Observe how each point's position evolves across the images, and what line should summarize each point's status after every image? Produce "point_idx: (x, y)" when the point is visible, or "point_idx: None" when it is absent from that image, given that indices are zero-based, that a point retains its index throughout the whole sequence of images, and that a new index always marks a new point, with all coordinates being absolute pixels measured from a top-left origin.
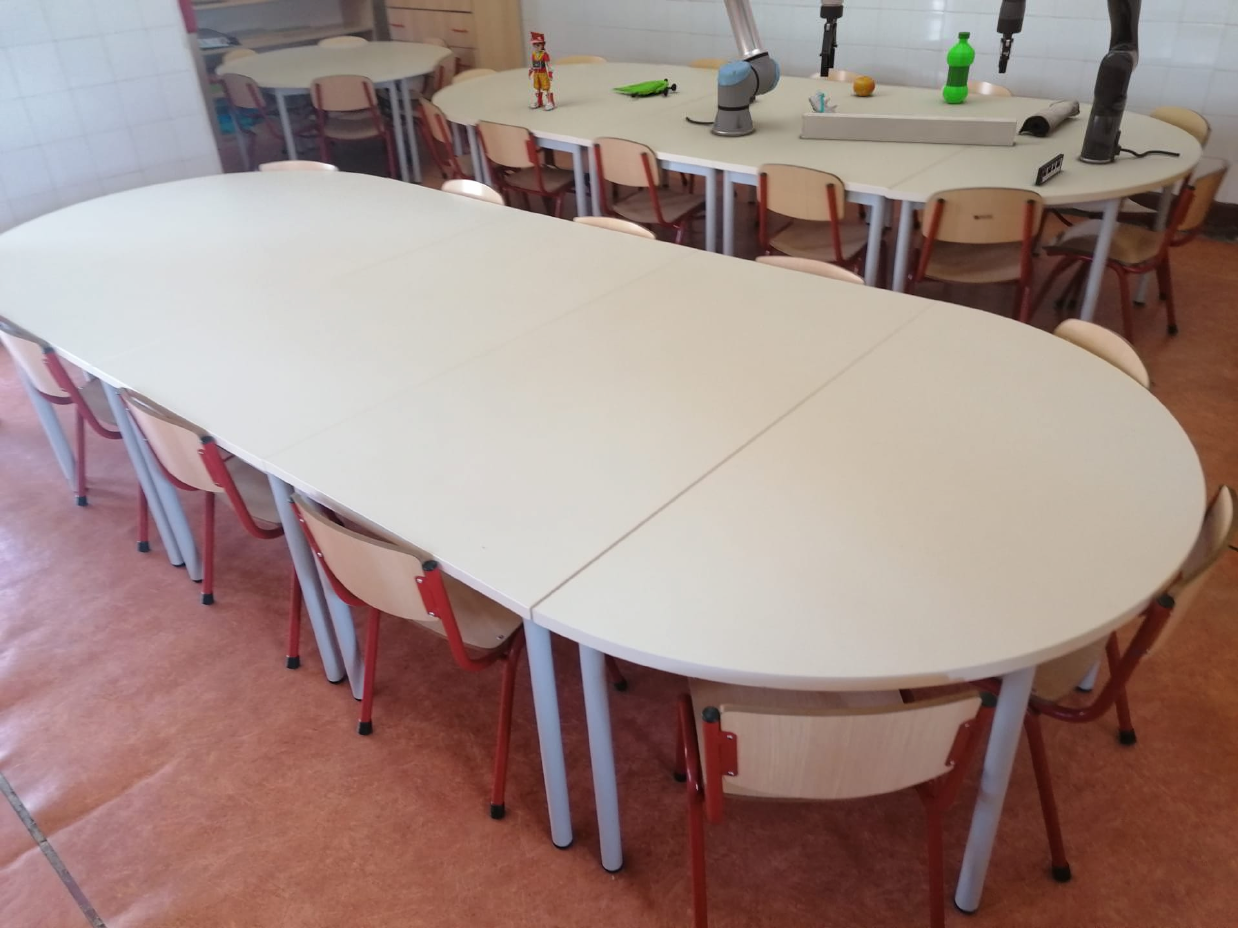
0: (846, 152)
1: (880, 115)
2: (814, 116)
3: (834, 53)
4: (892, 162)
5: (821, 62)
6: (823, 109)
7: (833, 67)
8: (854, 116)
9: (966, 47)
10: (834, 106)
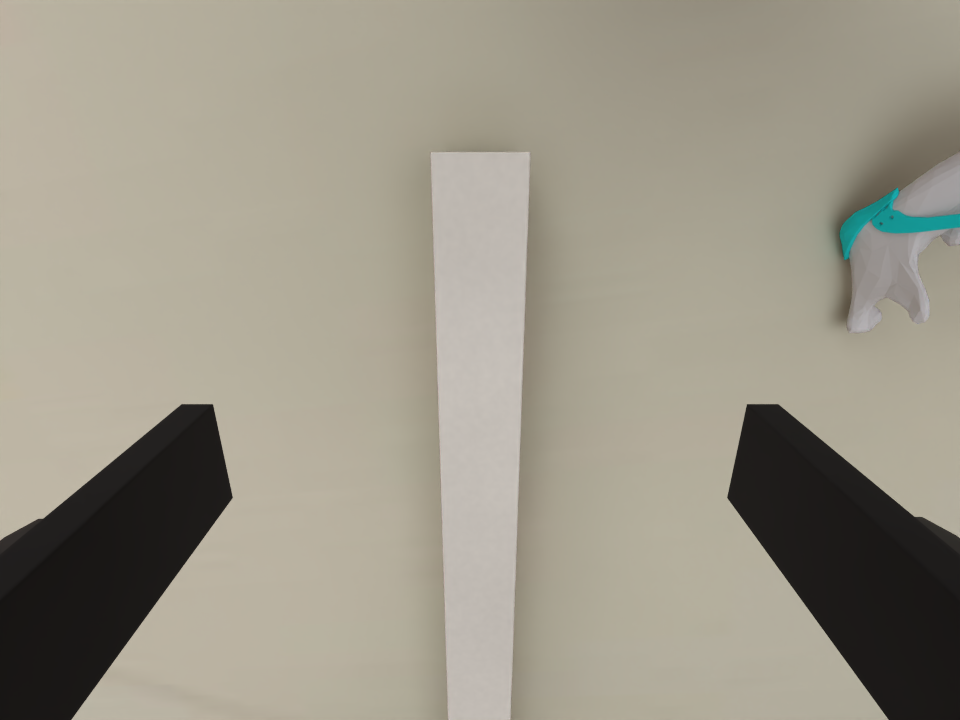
0: (238, 418)
1: (494, 598)
2: (435, 243)
3: (863, 676)
4: None
5: (22, 543)
6: (900, 231)
7: (737, 507)
8: (456, 485)
9: None
10: (915, 303)
